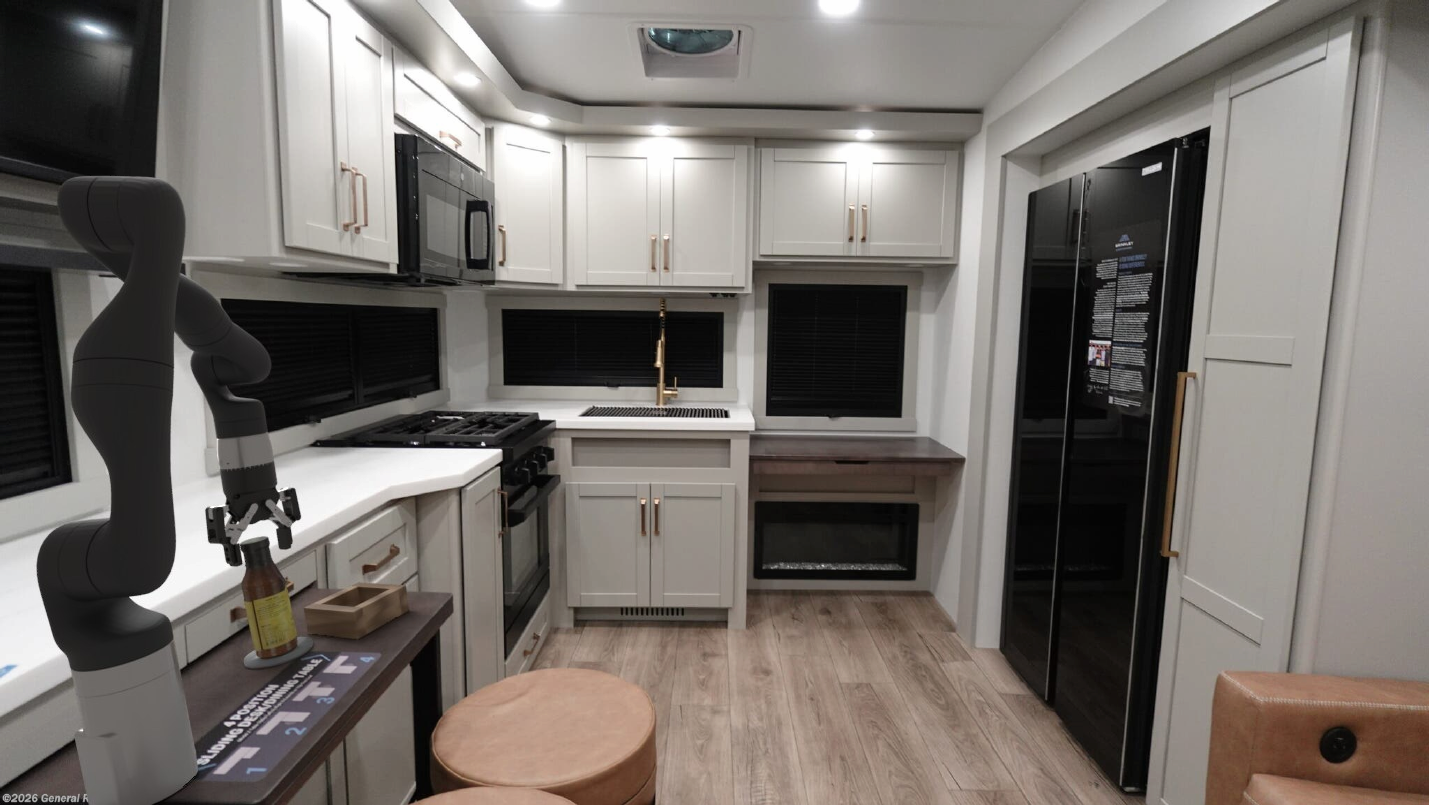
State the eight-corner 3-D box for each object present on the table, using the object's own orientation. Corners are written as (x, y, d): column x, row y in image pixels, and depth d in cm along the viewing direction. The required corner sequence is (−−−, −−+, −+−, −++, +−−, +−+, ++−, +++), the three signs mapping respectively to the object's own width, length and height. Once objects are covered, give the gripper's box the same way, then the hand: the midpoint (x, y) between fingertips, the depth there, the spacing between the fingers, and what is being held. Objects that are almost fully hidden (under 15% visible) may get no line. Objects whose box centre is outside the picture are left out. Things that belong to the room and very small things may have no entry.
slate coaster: (272, 671, 108) (271, 668, 108) (229, 665, 112) (229, 662, 112) (326, 642, 118) (326, 639, 117) (285, 638, 121) (285, 634, 121)
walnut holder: (357, 639, 118) (353, 612, 117) (307, 634, 122) (303, 608, 121) (409, 610, 129) (405, 585, 128) (362, 606, 133) (358, 582, 132)
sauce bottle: (307, 642, 117) (288, 532, 115) (280, 660, 111) (260, 544, 108) (272, 643, 118) (253, 534, 115) (244, 661, 111) (223, 546, 109)
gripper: (218, 471, 103) (234, 573, 105) (302, 453, 116) (315, 544, 118) (185, 472, 106) (202, 571, 107) (271, 454, 119) (285, 543, 120)
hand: (261, 557), depth 113 cm, fingers open, 8 cm apart
